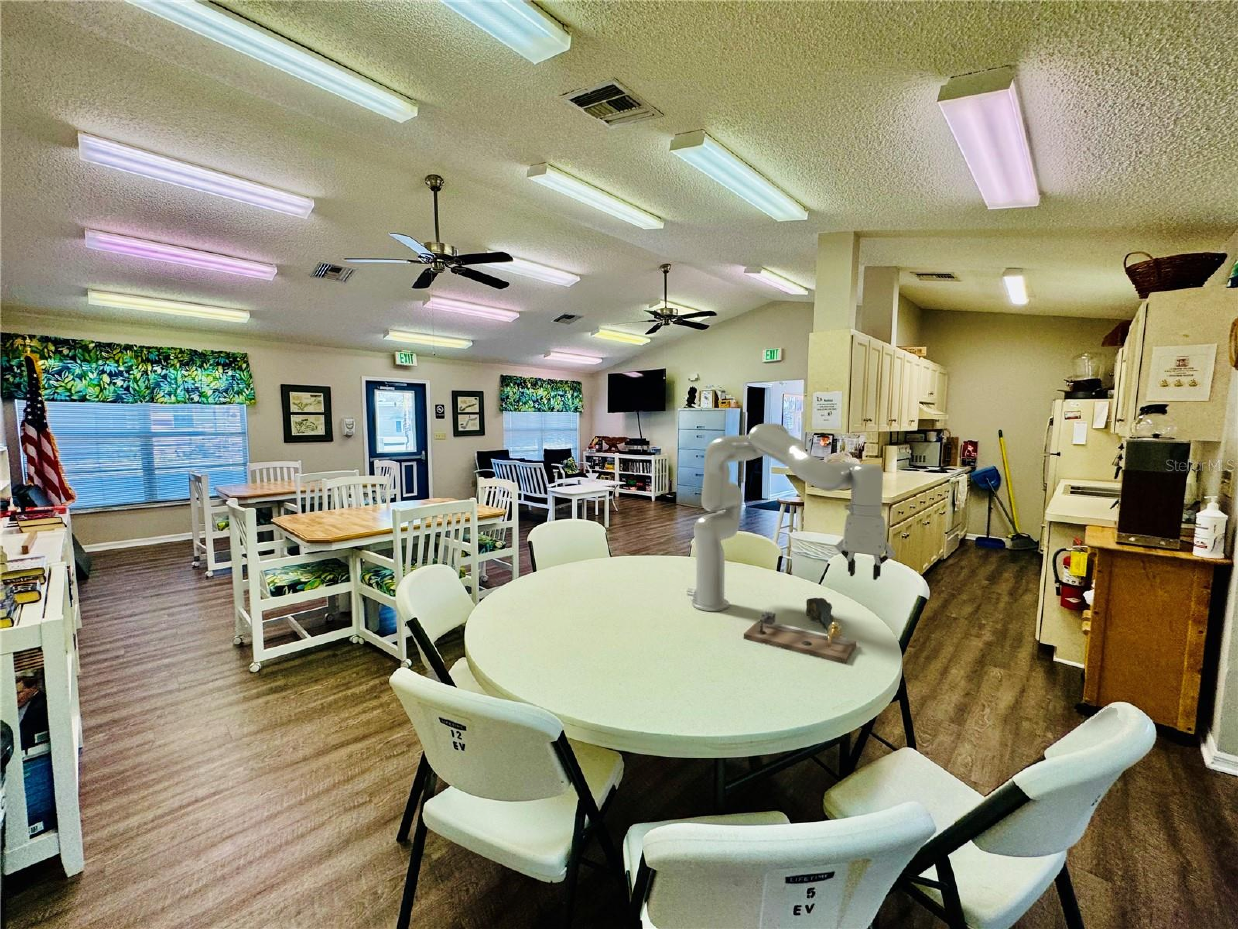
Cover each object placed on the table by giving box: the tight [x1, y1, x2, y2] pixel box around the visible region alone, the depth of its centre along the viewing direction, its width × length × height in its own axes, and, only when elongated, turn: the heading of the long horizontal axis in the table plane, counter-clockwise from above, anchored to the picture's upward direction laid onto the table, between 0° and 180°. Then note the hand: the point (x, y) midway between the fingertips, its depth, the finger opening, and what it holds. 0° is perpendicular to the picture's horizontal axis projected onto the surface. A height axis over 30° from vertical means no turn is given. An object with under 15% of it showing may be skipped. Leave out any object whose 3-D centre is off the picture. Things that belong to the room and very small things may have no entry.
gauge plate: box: [743, 610, 857, 665], centre depth 148 cm, size 28×13×5 cm, turn 54°
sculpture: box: [805, 597, 835, 631], centre depth 162 cm, size 13×6×7 cm, turn 177°
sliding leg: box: [827, 621, 843, 647], centre depth 143 cm, size 3×8×5 cm, turn 144°
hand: (863, 576), depth 139 cm, fingers open, 5 cm apart
